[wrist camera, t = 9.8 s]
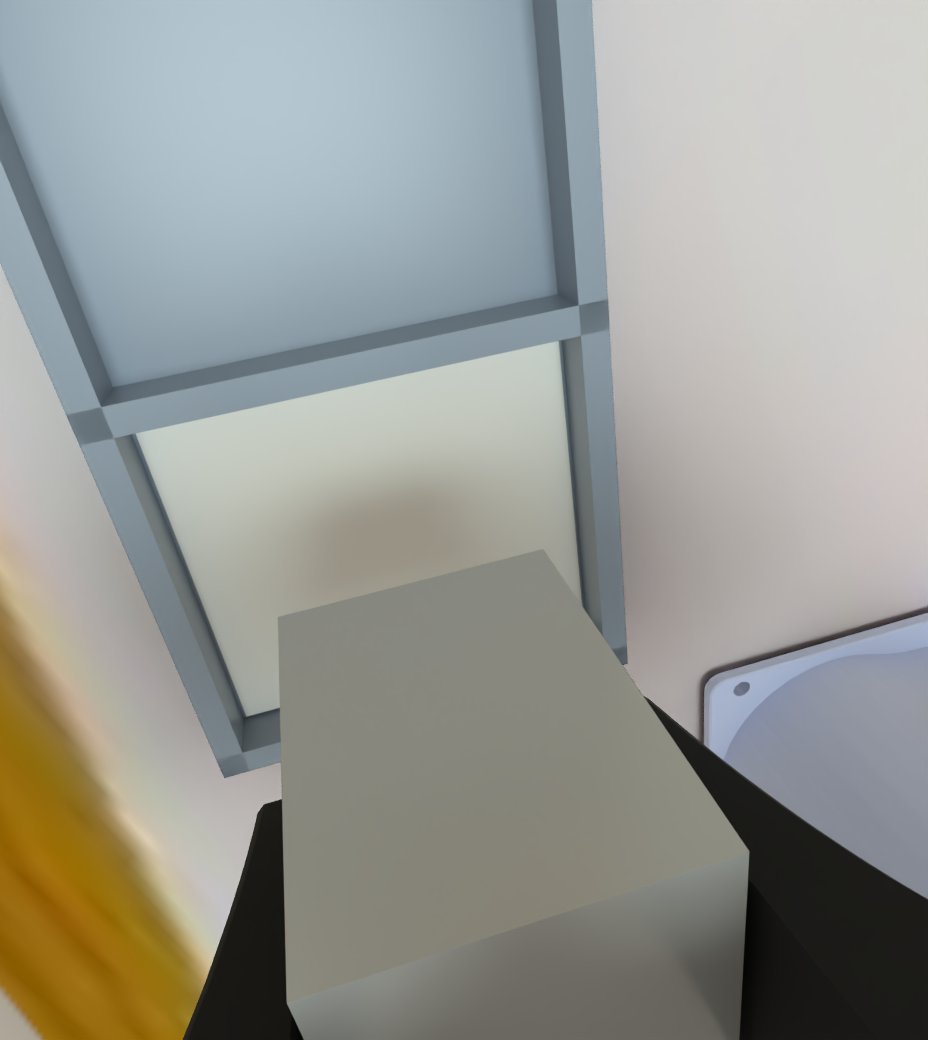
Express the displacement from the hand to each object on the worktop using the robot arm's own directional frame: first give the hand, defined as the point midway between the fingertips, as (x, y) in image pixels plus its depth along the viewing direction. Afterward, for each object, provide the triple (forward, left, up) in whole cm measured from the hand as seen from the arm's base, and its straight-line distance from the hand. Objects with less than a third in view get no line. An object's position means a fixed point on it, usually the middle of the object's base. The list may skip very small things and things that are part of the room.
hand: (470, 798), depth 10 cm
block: (0, 0, -2) cm, 2 cm away
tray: (0, -5, -8) cm, 10 cm away
